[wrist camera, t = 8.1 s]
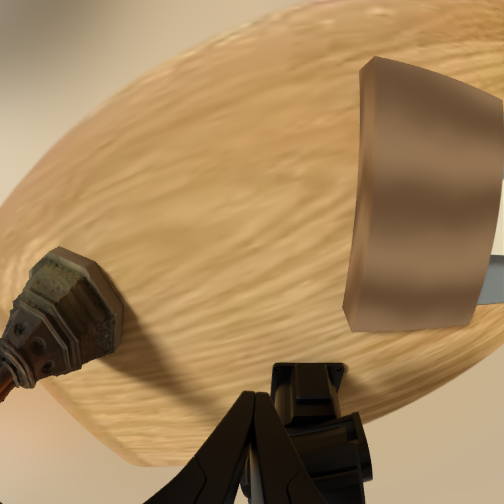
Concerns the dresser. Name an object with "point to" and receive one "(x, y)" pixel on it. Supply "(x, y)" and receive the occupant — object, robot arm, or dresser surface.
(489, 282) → the mat
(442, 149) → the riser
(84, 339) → the dark bronze flared piece
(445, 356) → the dresser surface
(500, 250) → the tile
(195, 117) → the dresser surface
